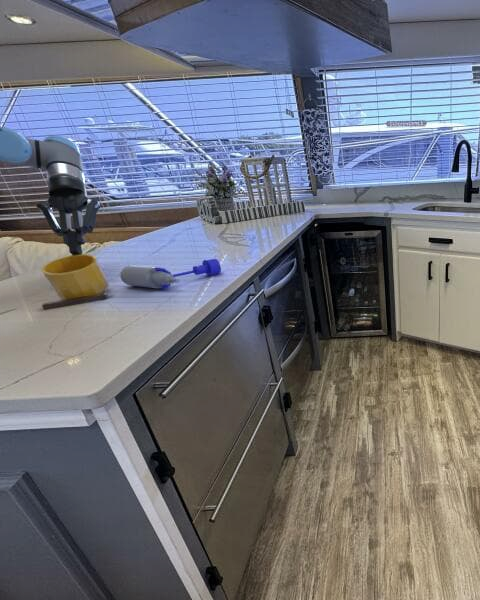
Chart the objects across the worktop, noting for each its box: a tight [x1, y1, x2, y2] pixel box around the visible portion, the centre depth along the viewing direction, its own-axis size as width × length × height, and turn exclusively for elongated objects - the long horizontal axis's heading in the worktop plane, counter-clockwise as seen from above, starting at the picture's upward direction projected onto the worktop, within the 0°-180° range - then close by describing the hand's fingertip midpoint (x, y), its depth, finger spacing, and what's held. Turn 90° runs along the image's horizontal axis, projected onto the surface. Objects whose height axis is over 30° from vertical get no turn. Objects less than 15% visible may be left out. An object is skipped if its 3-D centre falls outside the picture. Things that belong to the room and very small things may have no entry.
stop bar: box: [41, 292, 109, 310], centre depth 80 cm, size 12×2×1 cm, turn 119°
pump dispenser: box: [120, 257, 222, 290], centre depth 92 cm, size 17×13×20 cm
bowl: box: [40, 253, 110, 300], centre depth 83 cm, size 10×10×8 cm
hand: (76, 254), depth 84 cm, fingers closed
